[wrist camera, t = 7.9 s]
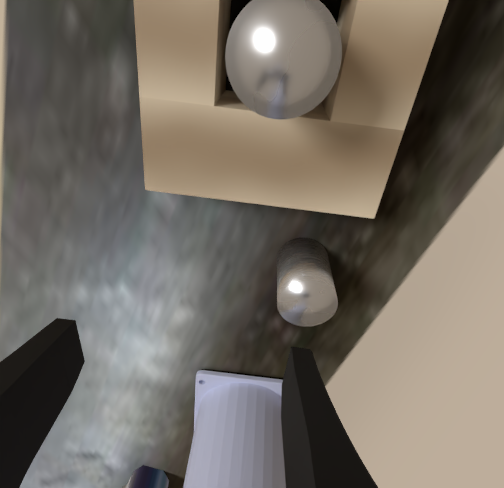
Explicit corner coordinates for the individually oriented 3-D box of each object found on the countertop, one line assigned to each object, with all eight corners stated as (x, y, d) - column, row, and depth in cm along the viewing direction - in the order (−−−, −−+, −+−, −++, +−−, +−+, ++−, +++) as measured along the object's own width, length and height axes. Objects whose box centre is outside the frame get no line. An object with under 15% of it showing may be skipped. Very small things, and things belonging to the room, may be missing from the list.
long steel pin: (306, 86, 16) (324, 128, 10) (240, 74, 16) (219, 109, 10) (324, 6, 14) (357, 1, 8) (251, -7, 14) (232, -23, 8)
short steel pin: (319, 283, 22) (327, 331, 18) (271, 274, 22) (271, 320, 18) (334, 243, 20) (346, 287, 17) (283, 233, 20) (285, 275, 17)
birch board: (358, 186, 18) (374, 218, 15) (166, 162, 18) (145, 189, 15) (456, -146, 12) (517, -201, 9) (158, -187, 12) (117, -256, 9)
